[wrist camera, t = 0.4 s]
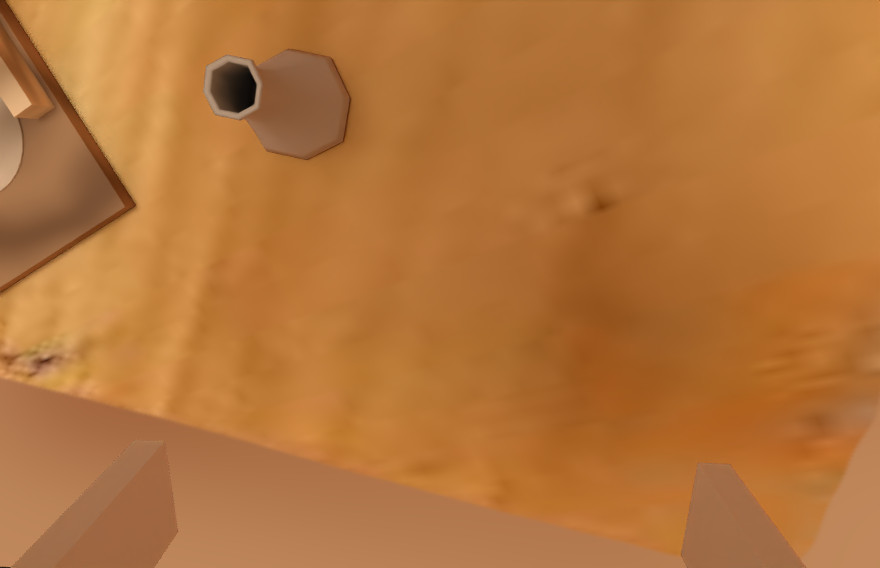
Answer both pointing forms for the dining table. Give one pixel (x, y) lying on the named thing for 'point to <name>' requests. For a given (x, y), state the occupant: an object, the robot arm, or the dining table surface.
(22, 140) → the jig board
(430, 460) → the dining table surface
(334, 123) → the flask
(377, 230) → the dining table surface
